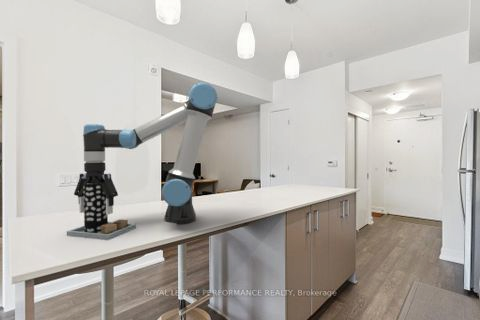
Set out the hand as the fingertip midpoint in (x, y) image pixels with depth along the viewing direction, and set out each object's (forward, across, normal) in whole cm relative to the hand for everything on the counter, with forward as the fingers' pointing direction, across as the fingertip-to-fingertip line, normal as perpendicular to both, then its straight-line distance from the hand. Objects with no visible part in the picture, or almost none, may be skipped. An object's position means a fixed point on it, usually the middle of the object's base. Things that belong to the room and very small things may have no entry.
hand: (96, 213), depth 98 cm
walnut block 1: (+8, -9, +3) cm, 12 cm away
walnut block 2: (+8, -9, -3) cm, 12 cm away
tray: (+8, -3, 0) cm, 9 cm away
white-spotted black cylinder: (+8, 0, 0) cm, 8 cm away
